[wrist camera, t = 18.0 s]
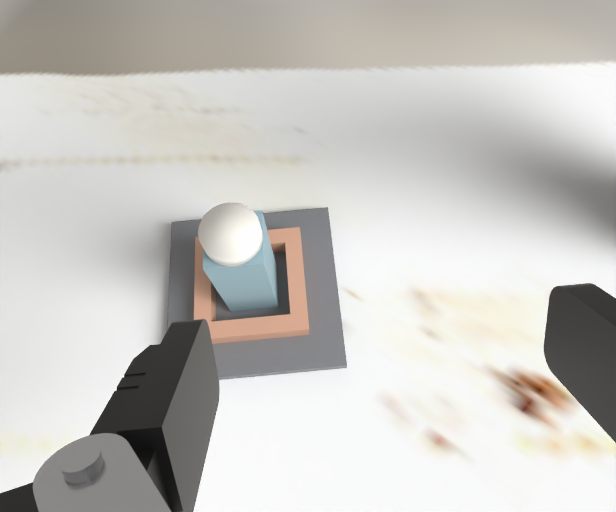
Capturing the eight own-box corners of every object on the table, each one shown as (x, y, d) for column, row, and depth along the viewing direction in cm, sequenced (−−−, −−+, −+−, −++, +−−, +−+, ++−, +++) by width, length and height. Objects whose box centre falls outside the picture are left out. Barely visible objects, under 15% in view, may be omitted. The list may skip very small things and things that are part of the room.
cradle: (327, 213, 47) (327, 197, 44) (346, 367, 40) (347, 360, 38) (175, 227, 47) (165, 212, 44) (169, 384, 40) (157, 378, 38)
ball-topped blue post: (276, 264, 44) (259, 200, 33) (278, 308, 42) (261, 255, 31) (231, 268, 44) (198, 205, 33) (231, 312, 42) (197, 260, 31)
